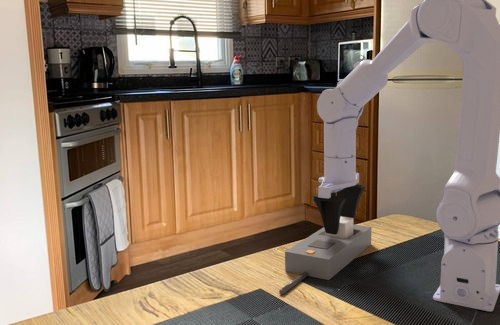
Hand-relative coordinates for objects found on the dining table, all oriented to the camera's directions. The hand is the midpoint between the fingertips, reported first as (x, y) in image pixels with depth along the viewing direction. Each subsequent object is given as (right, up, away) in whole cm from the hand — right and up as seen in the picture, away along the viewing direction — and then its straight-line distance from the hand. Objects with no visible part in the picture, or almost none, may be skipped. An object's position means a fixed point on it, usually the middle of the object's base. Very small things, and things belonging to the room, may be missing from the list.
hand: (339, 227), depth 95 cm
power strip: (-4, -6, -6) cm, 9 cm away
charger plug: (0, -3, +1) cm, 3 cm away
